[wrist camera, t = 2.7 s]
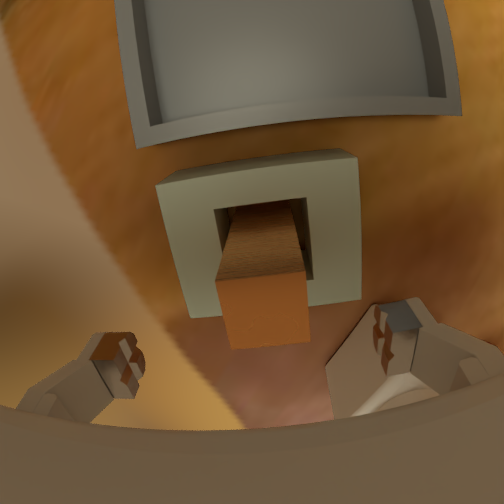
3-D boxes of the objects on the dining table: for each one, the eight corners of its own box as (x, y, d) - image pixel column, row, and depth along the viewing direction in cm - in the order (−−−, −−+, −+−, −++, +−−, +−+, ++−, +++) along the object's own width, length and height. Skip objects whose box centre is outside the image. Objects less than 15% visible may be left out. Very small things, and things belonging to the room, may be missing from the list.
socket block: (339, 148, 18) (357, 157, 15) (346, 267, 21) (361, 299, 18) (175, 170, 19) (155, 185, 16) (201, 284, 22) (190, 318, 19)
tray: (397, -68, 11) (412, -86, 8) (437, 113, 17) (462, 116, 14) (128, -44, 13) (111, -60, 10) (154, 143, 18) (136, 148, 16)
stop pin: (287, 194, 20) (305, 271, 10) (292, 239, 21) (310, 341, 12) (238, 200, 20) (214, 281, 11) (246, 245, 21) (231, 349, 12)
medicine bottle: (322, 366, 25) (343, 496, 14) (372, 300, 22) (430, 434, 12) (385, 384, 26) (419, 495, 15) (434, 328, 23) (496, 438, 13)
